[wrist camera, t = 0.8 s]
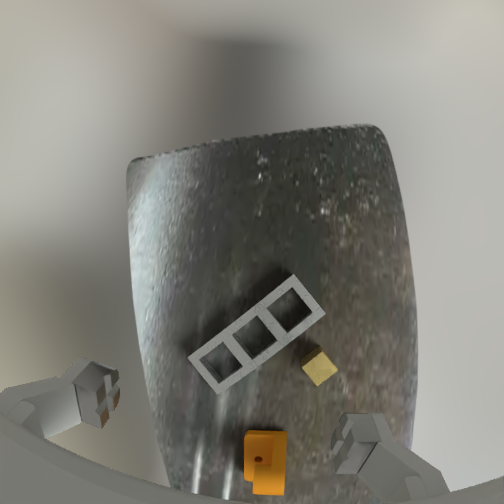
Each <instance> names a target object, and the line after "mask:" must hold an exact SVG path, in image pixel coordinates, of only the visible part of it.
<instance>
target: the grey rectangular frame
mask: <svg viewBox="0 0 504 504" xmlns="http://www.w3.org/2000/svg"><path fill="white" fill-rule="evenodd" d="M291 287H292V288H293V289H294V290H295V291H296V292H297V294H298V295H299V296H300V297H301V299H302V300H303V301H304V302H305V304H306V305H307V306H308V307H309V308H310V310H311V312H310V313H309V314H308V315H306V316H305V317H304V318H303V319H301V320H300V321H299V322H298V323H296V324H295V325H294V326H293V327H291V328H290V329H289V330H288V331H287V330H286V329H285V328H284V327H283V325H282V324H281V323H280V322H279V320H278V319H277V318H276V317H275V316H274V314H273V313H272V312H271V311H270V309H269V308H268V306H269V305H270V304H272V303H273V302H274V301H275V300H277V299H278V298H279V297H280V296H282V295H283V294H284V293H285V292H286V291H288V290H289V289H290V288H291ZM325 314H326V313H325V312H324V311H323V310H322V309H321V307H320V306H319V305H318V304H317V302H316V301H315V300H314V299H313V297H312V296H311V295H310V294H309V292H308V291H307V290H306V289H305V288H304V286H303V285H302V284H301V283H300V281H299V280H298V279H297V278H296V277H295V275H294V274H293V275H292V276H291V277H289V278H288V279H287V280H286V281H284V282H283V283H282V284H281V285H280V286H278V287H277V288H276V289H275V290H273V291H272V292H271V293H270V294H268V295H267V296H266V297H265V298H263V299H262V300H261V301H260V302H258V303H257V304H256V305H255V306H253V307H252V308H251V309H250V310H248V311H247V312H246V313H245V314H243V315H242V316H241V317H240V318H238V319H237V320H236V321H234V322H233V323H232V324H231V325H229V326H228V327H227V328H225V329H224V330H223V331H222V332H220V333H219V334H218V335H216V336H215V337H214V338H212V339H211V340H210V341H209V342H207V343H206V344H205V345H203V346H202V347H201V348H199V349H198V350H197V351H195V352H194V353H193V354H191V355H190V356H189V357H187V358H188V359H189V360H190V362H191V363H192V364H193V365H194V367H195V368H196V369H197V370H198V372H199V373H200V374H201V375H202V377H203V378H204V379H205V380H206V381H207V383H208V384H209V385H210V386H211V387H212V389H213V390H214V391H215V392H216V393H217V395H218V394H220V393H221V392H223V391H224V390H226V389H227V388H228V387H230V386H231V385H233V384H234V383H236V382H237V381H238V380H240V379H241V378H243V377H244V376H245V375H247V374H248V373H250V372H251V371H252V370H254V369H255V368H257V367H258V366H259V365H261V364H262V363H263V362H265V361H266V360H267V359H269V358H270V357H271V356H273V355H274V354H275V353H277V352H278V351H279V350H281V349H282V348H283V347H285V346H286V345H287V344H288V343H290V342H291V341H292V340H294V339H295V338H296V337H297V336H299V335H300V334H301V333H302V332H304V331H305V330H306V329H307V328H309V327H310V326H311V325H312V324H314V323H315V322H316V321H317V320H319V319H320V318H321V317H322V316H323V315H325ZM255 316H258V317H259V318H260V319H261V320H262V322H263V323H264V324H265V325H266V327H267V328H268V329H269V330H270V332H271V333H272V334H273V335H274V336H275V338H276V340H275V341H273V342H272V343H271V344H269V345H268V346H267V347H266V348H264V349H263V350H262V351H260V352H259V353H258V354H256V355H255V356H253V354H252V353H251V352H250V351H249V349H248V348H247V347H246V346H245V345H244V343H243V342H242V341H241V340H240V338H239V337H238V336H237V335H236V333H235V332H236V331H237V330H239V329H240V328H241V327H242V326H244V325H245V324H246V323H248V322H249V321H250V320H251V319H253V318H254V317H255ZM222 342H224V344H225V345H226V346H227V347H228V349H229V350H230V351H231V352H232V353H233V355H234V356H235V357H236V358H237V360H238V361H239V362H240V363H241V364H242V365H241V366H240V367H239V368H237V369H236V370H234V371H233V372H232V373H230V374H229V375H227V376H226V377H225V378H223V379H222V378H221V377H220V376H219V374H218V373H217V372H216V371H215V369H214V368H213V367H212V366H211V365H210V363H209V362H208V361H207V360H206V358H205V357H204V355H206V354H207V353H208V352H210V351H211V350H212V349H214V348H215V347H216V346H218V345H219V344H220V343H222Z"/></svg>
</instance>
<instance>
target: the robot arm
mask: <svg viewBox="0 0 504 504" xmlns="http://www.w3.org/2000/svg"><path fill="white" fill-rule="evenodd" d="M118 379H119V374H118V371H117V370H116V369H114V368H111V367H108V366H106V365H103V364H100V363H98V362H95V361H91V360H89V359H87V358H84V357H81V358H79V359H78V360H77V361H76V362H75V363H74V364H73V365H72V366H71V367H70V368H69V369H68V370H67V371H66V372H65V373H64V374H63V375H62V376H61V377H60V378H58V377H53V378H48V379H44V380H40V381H36V382H31V383H27V384H23V385H18V386H14V387H9V388H6V389H4V391H2V392H1V393H0V504H253V503H245V502H238V501H231V500H225V499H219V498H214V497H208V496H203V495H198V494H194V493H189V492H185V491H181V490H177V489H173V488H169V487H166V486H162V485H158V484H155V483H152V482H148V481H145V480H141V479H139V478H136V477H133V476H130V475H127V474H124V473H121V472H119V471H116V470H113V469H111V468H108V467H105V466H103V465H100V464H98V463H96V462H93V461H91V460H88V459H86V458H84V457H82V456H79V455H77V454H75V453H73V452H71V451H69V450H66V449H64V448H62V447H60V446H58V445H56V444H54V443H52V442H50V441H49V440H47V438H49V437H52V436H54V435H56V434H58V433H60V432H62V431H64V430H67V429H69V428H71V427H73V426H75V425H77V424H79V423H81V422H82V421H83V422H85V423H88V424H90V425H93V426H96V427H98V428H101V429H102V428H103V426H104V425H105V423H106V422H107V420H108V419H109V412H111V411H114V410H115V408H116V406H117V404H118V401H119V397H120V388H119V386H118V385H117V383H116V382H117V381H118ZM339 422H340V426H338V427H337V428H335V430H334V432H333V434H332V439H331V450H332V452H333V453H334V454H335V455H336V456H335V458H334V460H333V462H334V467H335V473H336V474H357V475H358V476H359V478H360V479H361V480H362V481H363V482H364V483H365V484H366V485H367V486H368V488H369V489H370V490H371V491H372V492H373V493H374V494H375V495H376V496H377V497H378V498H379V499H380V501H381V502H382V503H383V504H504V476H502V477H500V478H496V479H494V480H491V481H488V482H485V483H482V484H478V485H475V486H471V487H468V488H464V489H461V490H457V491H453V492H450V491H449V489H448V487H447V485H446V483H445V480H444V478H443V476H442V474H441V472H440V471H439V470H438V469H436V468H435V467H433V466H432V465H430V464H429V463H427V462H426V461H425V460H423V459H422V458H420V457H419V456H418V455H416V454H415V453H413V452H412V451H410V450H409V449H408V448H406V447H405V446H404V445H402V444H401V443H399V442H398V441H396V442H395V441H394V439H393V437H392V434H391V432H390V429H389V427H388V425H387V422H386V420H385V418H384V415H383V414H382V413H369V414H368V413H345V412H344V413H343V414H342V415H341V417H340V419H339Z"/></svg>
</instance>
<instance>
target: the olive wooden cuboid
mask: <svg viewBox="0 0 504 504" xmlns="http://www.w3.org/2000/svg"><path fill="white" fill-rule="evenodd" d="M300 361H301V367H302V369H303V370H304V371H305V372H306V373H307V374H308V376H309V377H310V378H311V379H312V380H313V382H314V383H315V384H316V385H317V386H318V385H319V384H321V383H322V382H323V381H325V380H326V379H327V378H328V377H330V376H331V375H332V374H334V373H335V372H336V371H337V370H338V369H337V368H336V366H335V365H334V363H333V362H332V360H331V359H330V358H329V357H328V356H327V354H326V353H325V352H324V351H323V349H322V348H321V347H320V346H318V347H317V348H315V349H314V350H313V351H312V352H310V353H309V354H308V355H307V356H305V357H304V358H303V359H301V360H300Z"/></svg>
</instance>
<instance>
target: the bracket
mask: <svg viewBox="0 0 504 504" xmlns="http://www.w3.org/2000/svg"><path fill="white" fill-rule="evenodd" d="M286 442H287V431H259V430H249V431H247V432H246V434H245V437H244V478H245V479H246V480H247V481H253V494H263V495H284V484H285V466H286Z"/></svg>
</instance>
